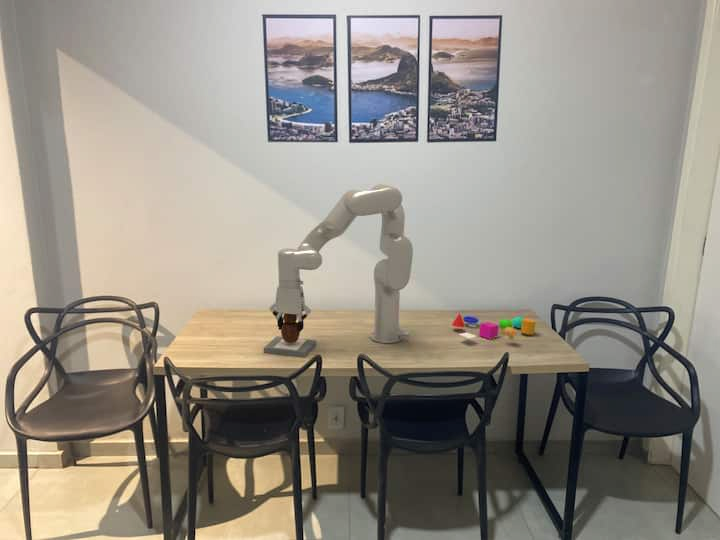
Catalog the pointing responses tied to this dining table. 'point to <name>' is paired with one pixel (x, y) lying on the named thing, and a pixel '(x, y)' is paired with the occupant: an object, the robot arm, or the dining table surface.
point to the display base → (290, 347)
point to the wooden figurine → (290, 328)
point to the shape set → (505, 326)
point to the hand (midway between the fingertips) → (290, 329)
